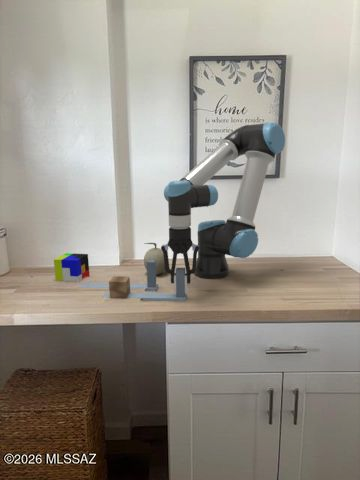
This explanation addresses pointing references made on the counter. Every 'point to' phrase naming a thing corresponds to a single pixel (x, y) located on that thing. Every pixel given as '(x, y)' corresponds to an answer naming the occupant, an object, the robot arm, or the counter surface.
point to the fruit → (155, 258)
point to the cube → (119, 287)
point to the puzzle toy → (71, 267)
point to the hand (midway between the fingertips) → (180, 291)
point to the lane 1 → (149, 277)
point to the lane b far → (94, 285)
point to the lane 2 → (177, 296)
